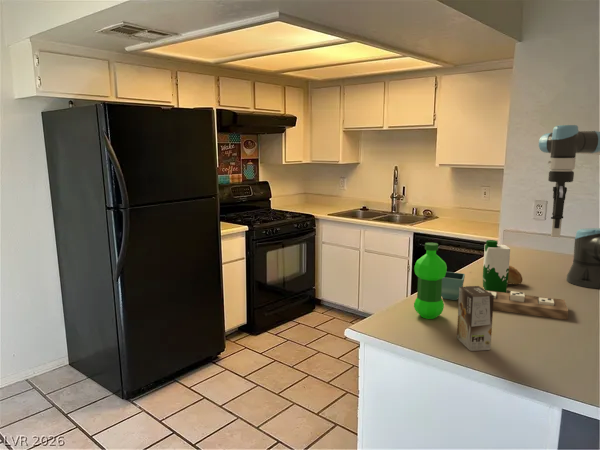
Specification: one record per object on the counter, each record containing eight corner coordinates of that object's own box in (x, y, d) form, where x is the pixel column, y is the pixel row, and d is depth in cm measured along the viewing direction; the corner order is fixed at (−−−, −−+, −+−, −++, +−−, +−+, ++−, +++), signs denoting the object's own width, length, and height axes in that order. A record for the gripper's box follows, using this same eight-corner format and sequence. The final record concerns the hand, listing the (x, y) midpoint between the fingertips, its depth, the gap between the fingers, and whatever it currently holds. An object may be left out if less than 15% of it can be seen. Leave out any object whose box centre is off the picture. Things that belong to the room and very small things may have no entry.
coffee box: (491, 350, 122) (495, 295, 119) (469, 351, 121) (473, 296, 119) (475, 336, 131) (479, 285, 128) (455, 337, 130) (458, 286, 128)
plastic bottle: (434, 309, 153) (437, 240, 149) (450, 320, 143) (454, 246, 139) (407, 311, 151) (410, 241, 147) (422, 323, 141) (425, 248, 137)
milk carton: (480, 286, 179) (483, 238, 175) (503, 287, 177) (507, 239, 173) (484, 293, 170) (487, 243, 167) (509, 294, 168) (513, 243, 165)
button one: (495, 301, 159) (496, 291, 159) (495, 305, 156) (496, 295, 155) (482, 299, 161) (483, 290, 161) (482, 303, 157) (482, 293, 157)
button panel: (563, 307, 154) (564, 299, 153) (567, 319, 143) (568, 311, 142) (472, 296, 166) (473, 288, 166) (469, 306, 156) (470, 298, 155)
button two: (552, 308, 152) (553, 298, 151) (553, 312, 148) (554, 302, 147) (537, 306, 154) (538, 296, 153) (538, 310, 150) (539, 300, 149)
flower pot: (463, 295, 167) (465, 273, 166) (461, 303, 159) (463, 279, 158) (440, 293, 171) (441, 270, 169) (437, 299, 163) (438, 276, 162)
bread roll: (520, 288, 175) (522, 269, 174) (481, 283, 183) (482, 265, 182) (523, 282, 183) (524, 264, 182) (485, 277, 191) (486, 260, 190)
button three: (523, 302, 155) (524, 292, 155) (523, 306, 152) (524, 295, 151) (509, 300, 157) (510, 290, 157) (509, 304, 153) (510, 294, 153)
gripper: (547, 169, 159) (542, 232, 163) (550, 171, 147) (544, 239, 151) (571, 169, 156) (565, 234, 160) (576, 171, 144) (569, 241, 148)
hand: (555, 236), depth 156 cm, fingers closed
